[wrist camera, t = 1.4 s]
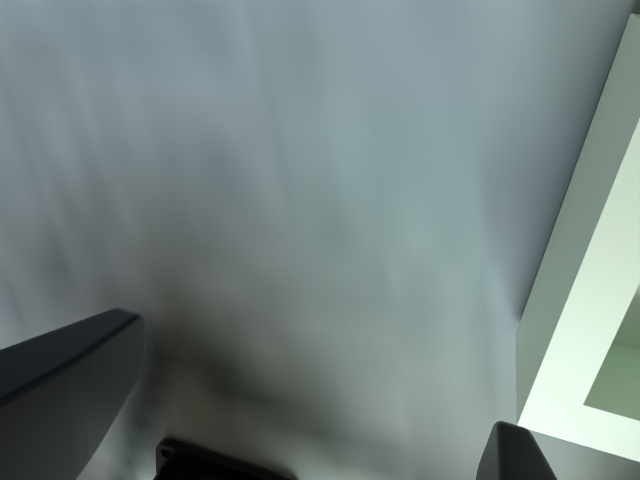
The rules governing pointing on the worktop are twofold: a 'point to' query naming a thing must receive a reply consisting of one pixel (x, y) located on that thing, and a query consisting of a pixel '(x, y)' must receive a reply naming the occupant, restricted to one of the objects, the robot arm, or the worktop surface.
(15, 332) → the worktop surface
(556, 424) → the socket block
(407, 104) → the worktop surface
